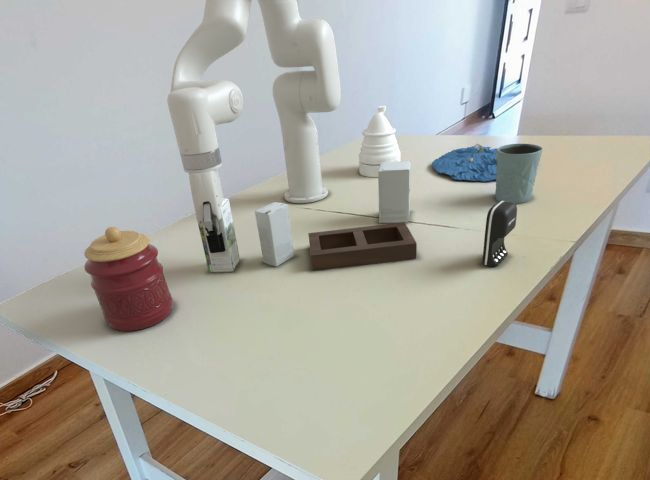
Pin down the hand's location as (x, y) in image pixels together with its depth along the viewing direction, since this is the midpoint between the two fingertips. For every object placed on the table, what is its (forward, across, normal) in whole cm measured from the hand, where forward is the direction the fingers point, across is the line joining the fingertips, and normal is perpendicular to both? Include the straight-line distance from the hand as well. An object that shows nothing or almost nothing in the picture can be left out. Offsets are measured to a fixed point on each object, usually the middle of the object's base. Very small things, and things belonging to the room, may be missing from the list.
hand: (220, 243), depth 107 cm
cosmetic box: (+6, 0, +12) cm, 13 cm away
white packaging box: (+6, -17, +41) cm, 45 cm away
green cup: (+6, -21, +72) cm, 75 cm away
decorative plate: (+6, -49, +74) cm, 89 cm away
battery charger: (+6, +12, +56) cm, 58 cm away
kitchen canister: (+6, +17, -15) cm, 23 cm away
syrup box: (+6, 0, 0) cm, 6 cm away
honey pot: (+6, -57, +44) cm, 72 cm away
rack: (+6, +1, +30) cm, 31 cm away
